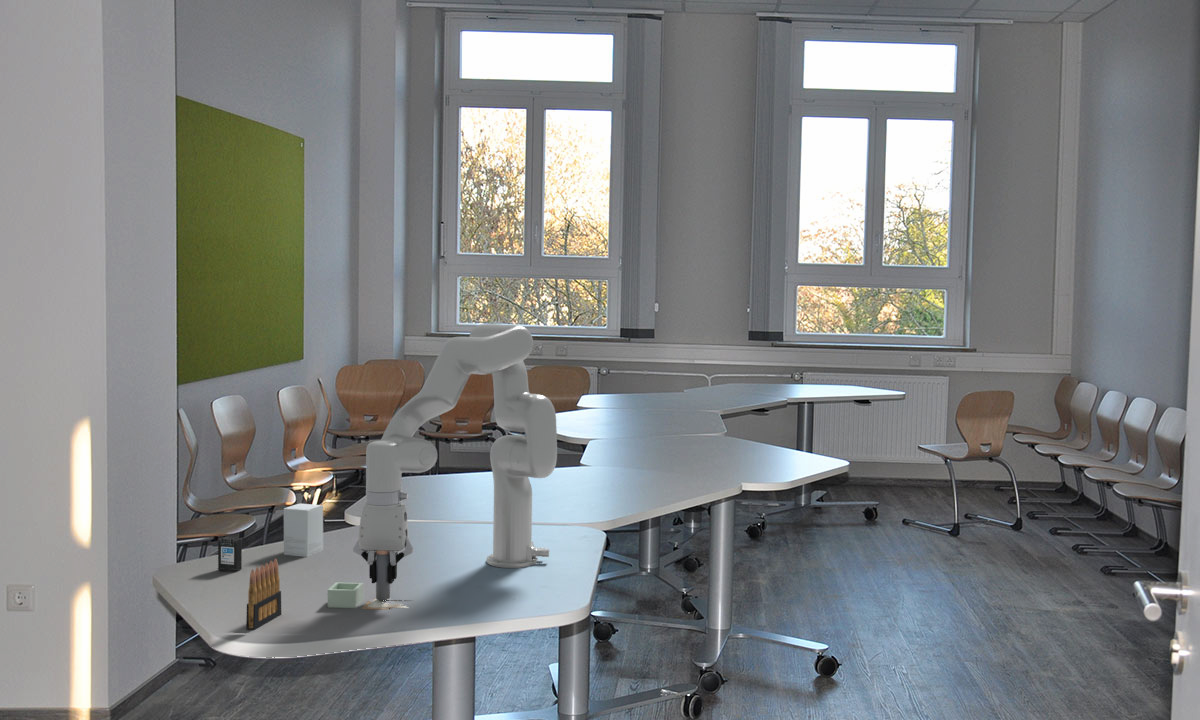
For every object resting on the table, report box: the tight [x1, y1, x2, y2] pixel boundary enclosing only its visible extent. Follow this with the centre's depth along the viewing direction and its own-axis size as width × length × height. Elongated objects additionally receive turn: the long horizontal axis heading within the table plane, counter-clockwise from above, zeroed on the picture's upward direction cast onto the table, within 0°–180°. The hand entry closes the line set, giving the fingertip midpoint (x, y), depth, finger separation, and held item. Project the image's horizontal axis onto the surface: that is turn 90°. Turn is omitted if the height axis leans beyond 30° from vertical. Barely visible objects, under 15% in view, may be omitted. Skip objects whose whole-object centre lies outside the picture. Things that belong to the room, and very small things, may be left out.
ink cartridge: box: [217, 536, 243, 573], centre depth 247 cm, size 5×2×8 cm, turn 80°
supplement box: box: [283, 503, 324, 558], centre depth 263 cm, size 7×7×13 cm
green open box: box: [327, 581, 364, 609], centre depth 221 cm, size 6×6×4 cm
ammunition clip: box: [245, 558, 282, 631], centre depth 208 cm, size 11×2×12 cm, turn 168°
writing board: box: [361, 598, 413, 610], centre depth 222 cm, size 15×12×1 cm
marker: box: [375, 551, 391, 600], centre depth 222 cm, size 3×3×12 cm
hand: (383, 581), depth 222 cm, fingers closed on marker, 3 cm apart
